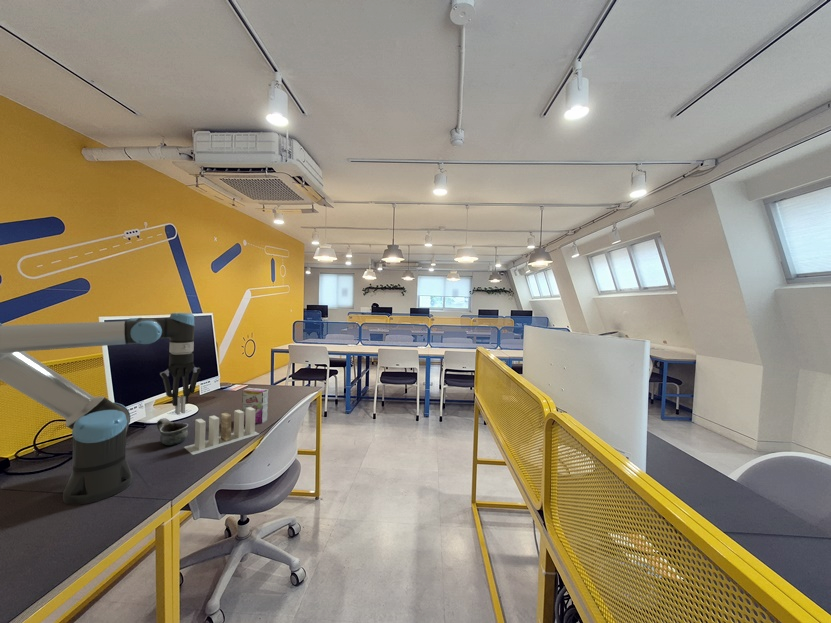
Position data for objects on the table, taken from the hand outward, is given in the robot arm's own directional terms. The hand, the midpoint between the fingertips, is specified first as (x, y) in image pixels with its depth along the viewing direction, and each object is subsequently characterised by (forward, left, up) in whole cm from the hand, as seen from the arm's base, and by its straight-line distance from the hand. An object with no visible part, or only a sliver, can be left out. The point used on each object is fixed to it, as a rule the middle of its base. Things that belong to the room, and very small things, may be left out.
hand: (180, 412), depth 120 cm
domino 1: (+7, 0, -16) cm, 17 cm away
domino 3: (+22, 0, -16) cm, 27 cm away
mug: (+1, +14, -17) cm, 22 cm away
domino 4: (+27, 0, -16) cm, 31 cm away
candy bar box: (+35, +12, -17) cm, 41 cm away
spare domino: (+17, 0, -16) cm, 23 cm away
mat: (+16, 0, -16) cm, 23 cm away
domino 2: (+12, 0, -16) cm, 20 cm away
